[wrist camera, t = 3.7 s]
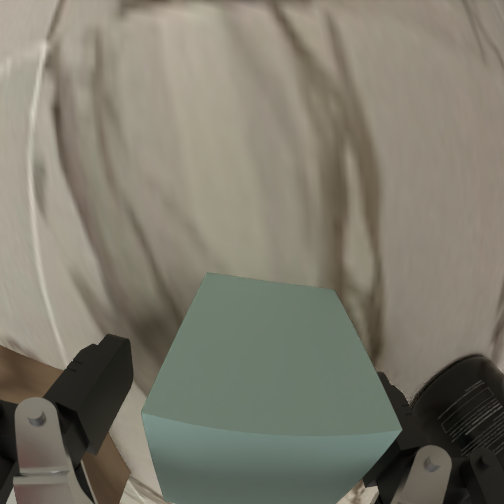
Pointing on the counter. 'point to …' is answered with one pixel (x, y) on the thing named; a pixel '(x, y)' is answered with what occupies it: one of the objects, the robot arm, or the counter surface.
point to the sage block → (265, 399)
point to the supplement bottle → (464, 410)
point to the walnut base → (36, 385)
